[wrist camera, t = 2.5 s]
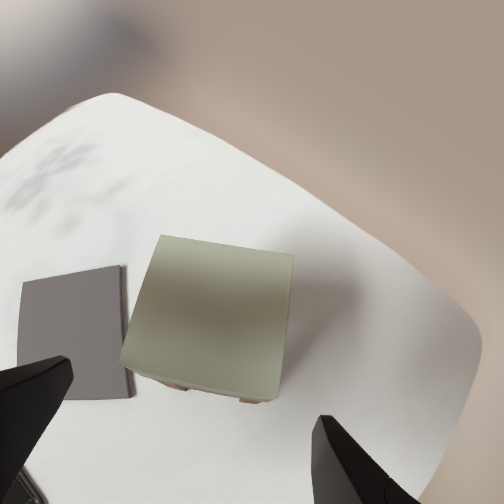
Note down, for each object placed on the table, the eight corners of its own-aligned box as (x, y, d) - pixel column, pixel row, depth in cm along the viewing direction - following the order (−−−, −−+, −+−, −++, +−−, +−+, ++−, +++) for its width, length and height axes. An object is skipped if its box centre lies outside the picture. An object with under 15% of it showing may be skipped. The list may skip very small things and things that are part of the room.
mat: (130, 397, 17) (128, 397, 17) (21, 397, 15) (18, 396, 15) (121, 267, 23) (119, 265, 22) (25, 284, 21) (23, 282, 20)
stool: (257, 405, 18) (277, 397, 10) (167, 388, 18) (118, 363, 10) (269, 322, 21) (293, 255, 13) (187, 307, 21) (160, 234, 13)
